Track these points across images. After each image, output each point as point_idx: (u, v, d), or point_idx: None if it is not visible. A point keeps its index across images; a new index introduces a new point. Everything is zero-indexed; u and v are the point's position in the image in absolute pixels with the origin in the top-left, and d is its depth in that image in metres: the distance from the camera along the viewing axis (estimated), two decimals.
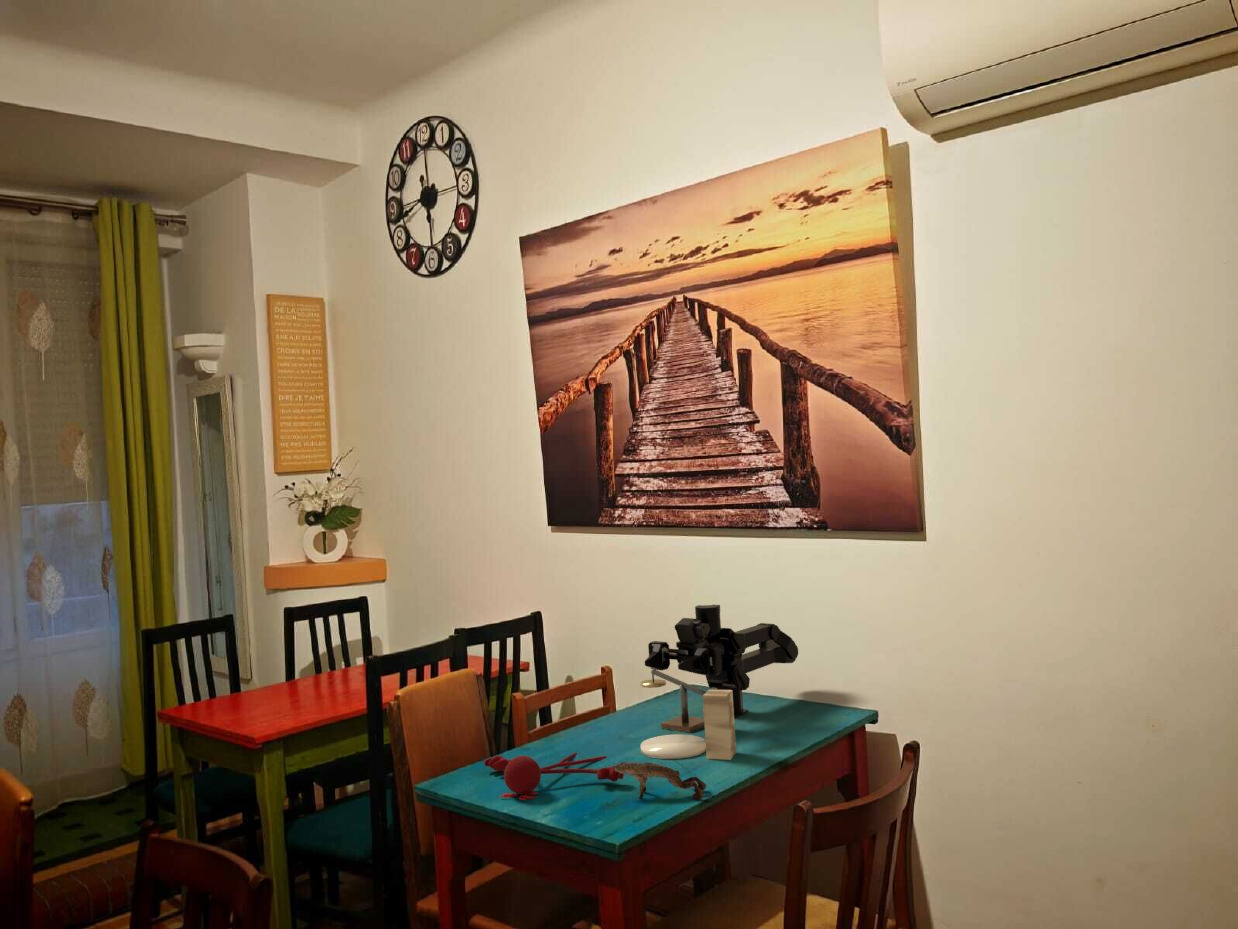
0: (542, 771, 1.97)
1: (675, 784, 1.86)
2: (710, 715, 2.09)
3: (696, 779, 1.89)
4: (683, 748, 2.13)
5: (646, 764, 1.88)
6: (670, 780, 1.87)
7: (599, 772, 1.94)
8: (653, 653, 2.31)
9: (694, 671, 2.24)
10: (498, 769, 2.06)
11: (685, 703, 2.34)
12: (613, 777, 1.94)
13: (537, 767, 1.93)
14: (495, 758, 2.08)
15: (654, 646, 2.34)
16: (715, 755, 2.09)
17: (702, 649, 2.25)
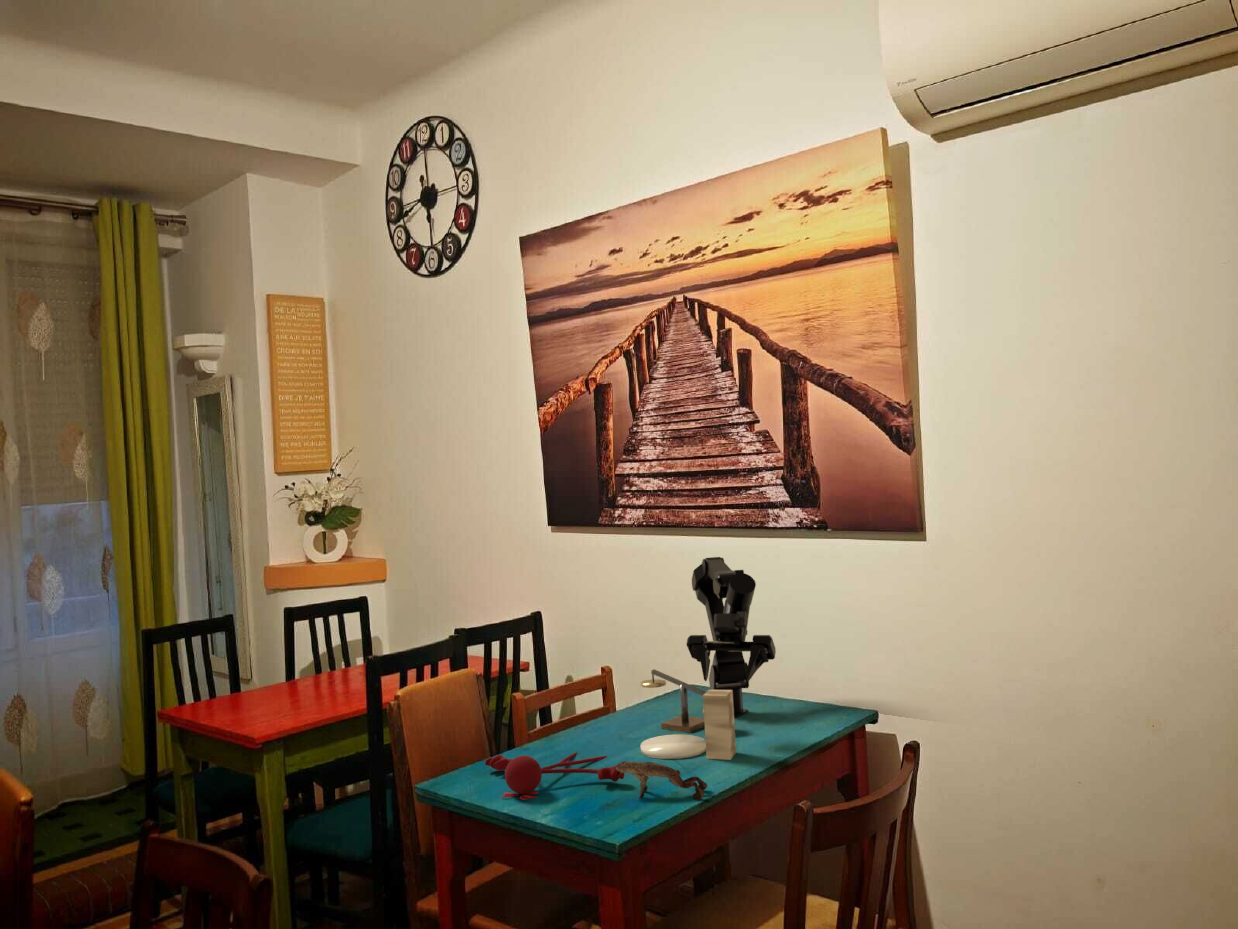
0: (543, 771, 1.97)
1: (676, 784, 1.87)
2: (710, 715, 2.09)
3: (697, 779, 1.89)
4: (683, 748, 2.13)
5: (647, 763, 1.89)
6: (671, 780, 1.87)
7: (600, 772, 1.95)
8: (702, 659, 2.22)
9: (756, 669, 2.20)
10: (499, 769, 2.06)
11: (685, 703, 2.34)
12: (614, 777, 1.94)
13: (538, 767, 1.93)
14: (496, 758, 2.09)
15: (697, 648, 2.23)
16: (715, 755, 2.09)
17: (756, 647, 2.19)
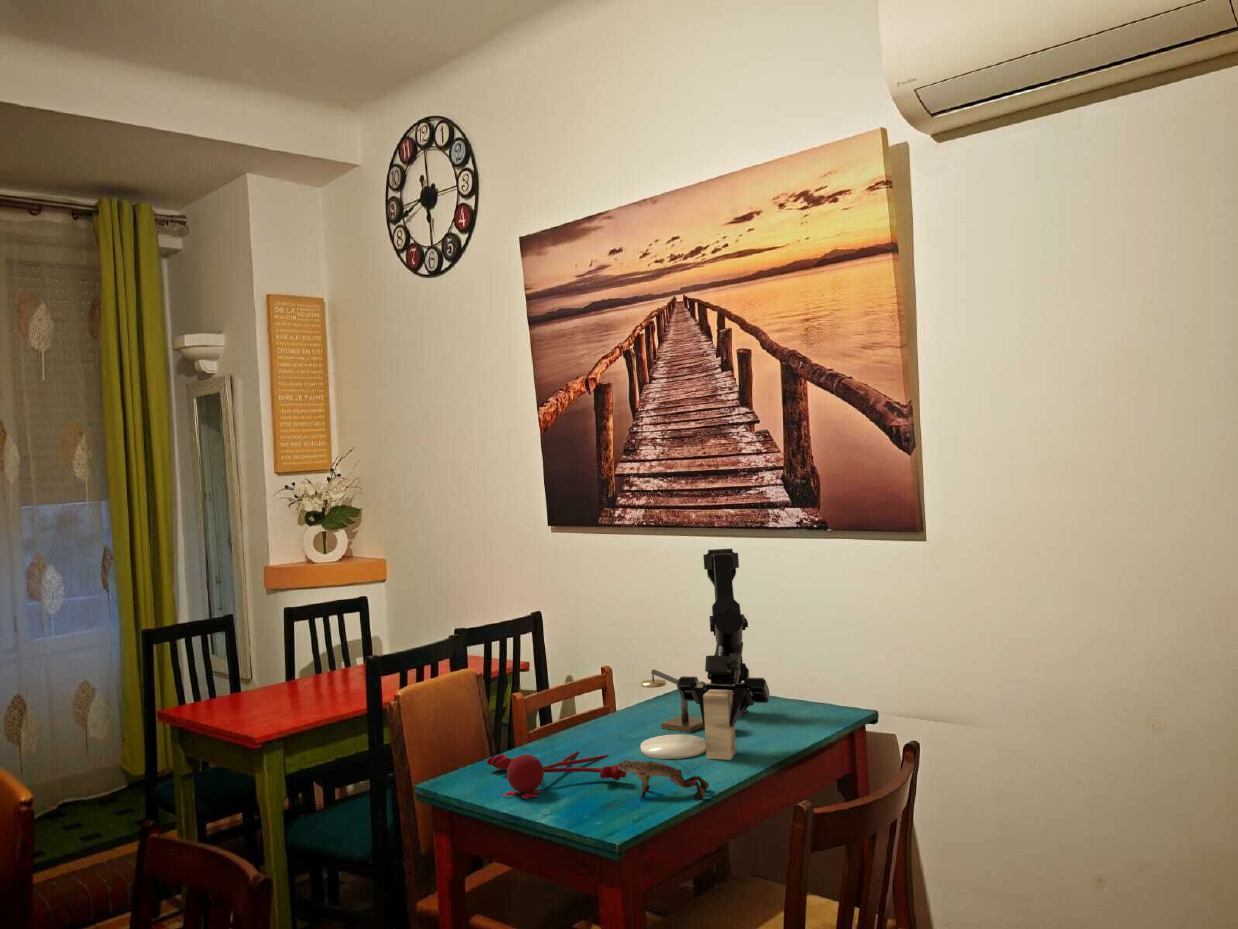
0: (545, 770, 1.98)
1: (677, 783, 1.87)
2: (710, 715, 2.09)
3: (699, 779, 1.89)
4: (683, 748, 2.13)
5: (649, 763, 1.89)
6: (672, 779, 1.87)
7: (602, 771, 1.95)
8: (701, 702, 2.13)
9: (741, 713, 2.12)
10: (501, 768, 2.06)
11: (685, 703, 2.34)
12: (616, 776, 1.95)
13: (540, 766, 1.94)
14: (498, 757, 2.09)
15: (696, 691, 2.14)
16: (715, 755, 2.09)
17: (741, 691, 2.10)
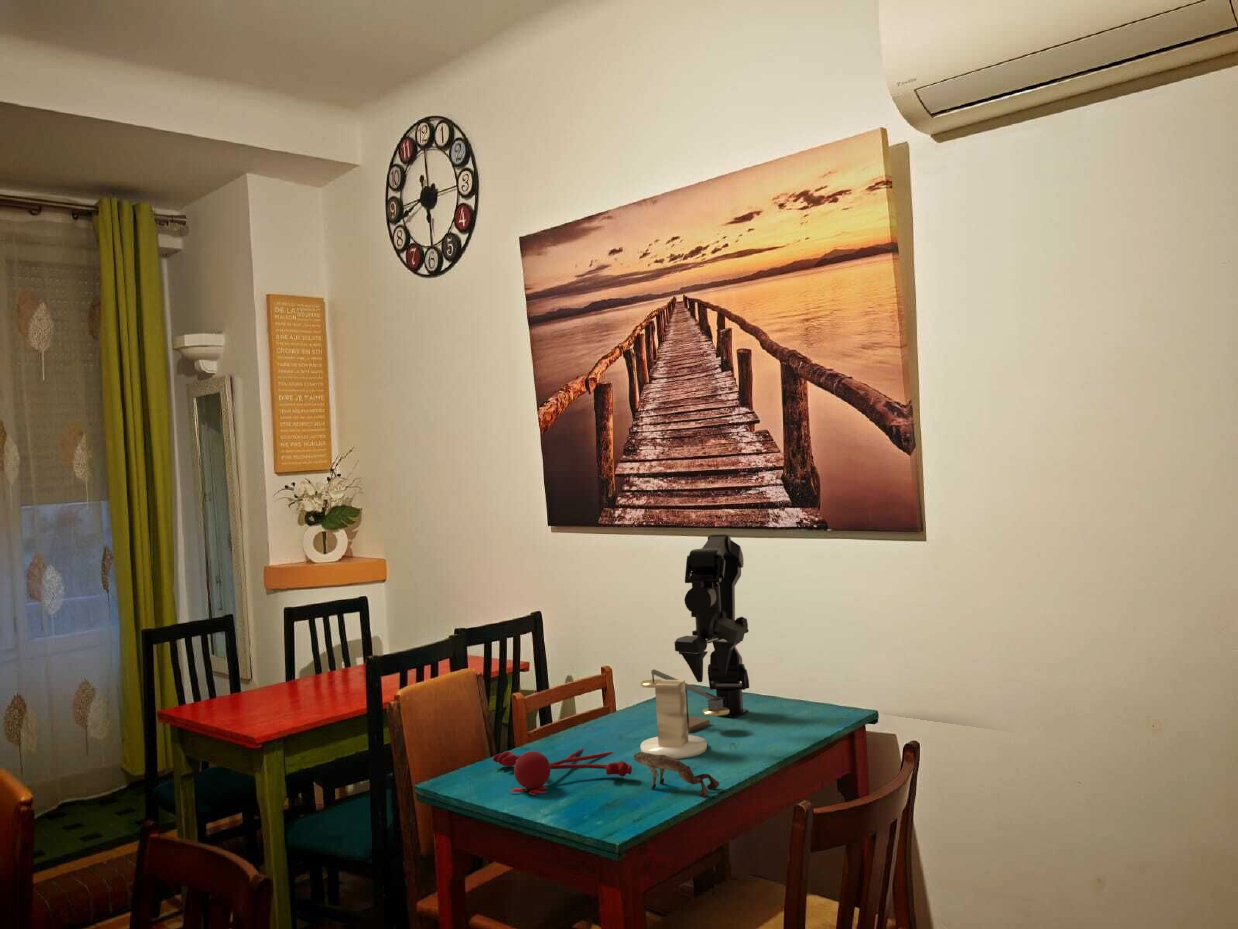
0: (551, 766, 2.00)
1: (684, 779, 1.89)
2: (661, 704, 2.16)
3: (708, 777, 1.90)
4: (683, 748, 2.13)
5: (660, 756, 1.93)
6: (680, 774, 1.90)
7: (608, 767, 1.97)
8: (701, 663, 2.20)
9: None
10: (507, 765, 2.08)
11: None
12: (622, 772, 1.97)
13: (547, 762, 1.96)
14: (504, 754, 2.11)
15: (702, 655, 2.18)
16: (667, 743, 2.15)
17: (737, 643, 2.28)
